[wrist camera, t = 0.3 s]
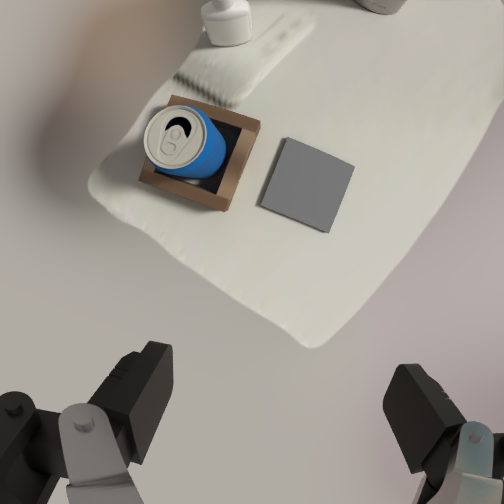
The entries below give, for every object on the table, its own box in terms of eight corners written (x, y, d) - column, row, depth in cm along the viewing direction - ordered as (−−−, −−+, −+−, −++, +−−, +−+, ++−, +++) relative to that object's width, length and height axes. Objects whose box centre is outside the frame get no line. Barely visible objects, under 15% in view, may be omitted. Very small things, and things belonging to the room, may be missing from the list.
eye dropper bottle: (243, 55, 31) (235, 4, 19) (205, 43, 30) (184, -6, 18) (257, 32, 30) (254, -21, 18) (220, 21, 29) (205, -30, 18)
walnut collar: (179, 102, 32) (171, 94, 29) (260, 127, 33) (260, 121, 29) (149, 181, 34) (138, 180, 31) (227, 210, 35) (224, 212, 32)
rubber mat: (287, 137, 33) (287, 137, 32) (353, 167, 33) (354, 166, 33) (260, 205, 35) (260, 205, 34) (327, 232, 35) (328, 233, 34)
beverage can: (236, 139, 33) (224, 114, 21) (215, 187, 34) (192, 185, 23) (190, 122, 33) (157, 92, 21) (169, 168, 34) (128, 159, 22)
